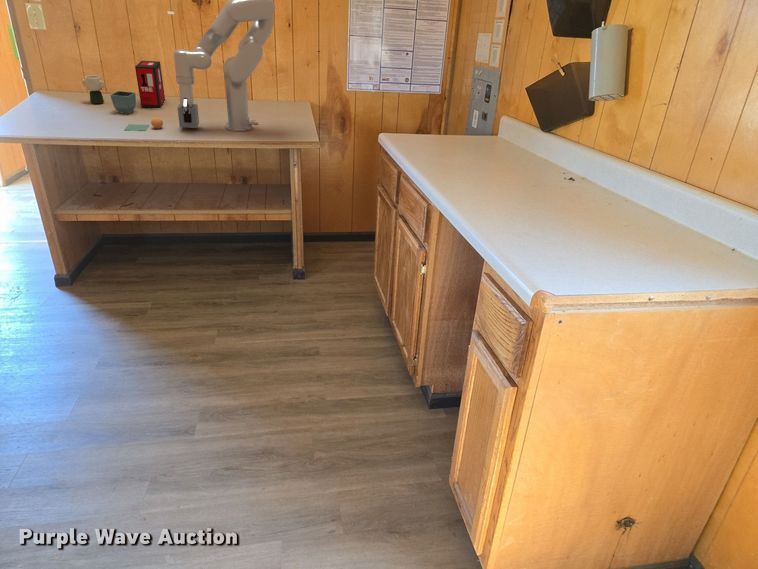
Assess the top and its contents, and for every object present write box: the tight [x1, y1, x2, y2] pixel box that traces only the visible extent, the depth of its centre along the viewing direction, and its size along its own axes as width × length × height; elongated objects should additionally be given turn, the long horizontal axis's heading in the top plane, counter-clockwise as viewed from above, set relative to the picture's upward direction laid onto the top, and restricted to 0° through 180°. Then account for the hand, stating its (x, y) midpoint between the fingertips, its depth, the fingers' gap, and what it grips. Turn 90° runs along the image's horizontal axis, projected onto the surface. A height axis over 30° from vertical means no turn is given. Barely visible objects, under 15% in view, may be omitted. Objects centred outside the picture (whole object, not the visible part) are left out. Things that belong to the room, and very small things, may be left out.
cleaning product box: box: [134, 60, 166, 109], centre depth 270 cm, size 16×9×20 cm, turn 10°
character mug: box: [82, 74, 106, 104], centre depth 266 cm, size 11×7×13 cm, turn 88°
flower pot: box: [110, 90, 137, 115], centre depth 257 cm, size 9×9×9 cm
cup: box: [177, 103, 200, 129], centre depth 241 cm, size 8×8×9 cm
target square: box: [123, 123, 150, 132], centre depth 240 cm, size 9×9×1 cm
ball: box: [150, 116, 164, 129], centre depth 240 cm, size 5×5×5 cm
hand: (189, 119), depth 242 cm, fingers closed on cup, 7 cm apart
